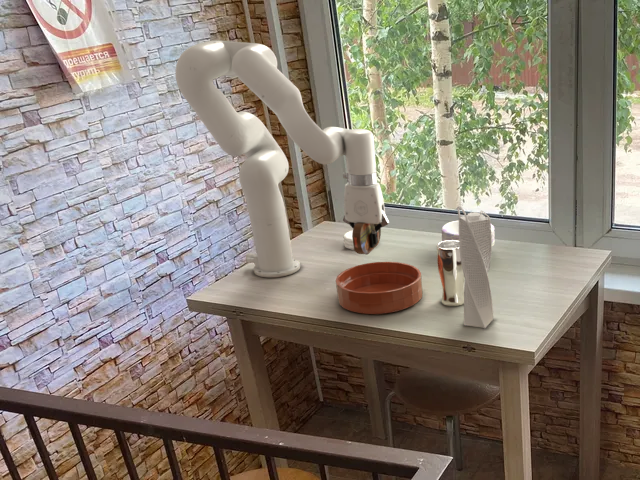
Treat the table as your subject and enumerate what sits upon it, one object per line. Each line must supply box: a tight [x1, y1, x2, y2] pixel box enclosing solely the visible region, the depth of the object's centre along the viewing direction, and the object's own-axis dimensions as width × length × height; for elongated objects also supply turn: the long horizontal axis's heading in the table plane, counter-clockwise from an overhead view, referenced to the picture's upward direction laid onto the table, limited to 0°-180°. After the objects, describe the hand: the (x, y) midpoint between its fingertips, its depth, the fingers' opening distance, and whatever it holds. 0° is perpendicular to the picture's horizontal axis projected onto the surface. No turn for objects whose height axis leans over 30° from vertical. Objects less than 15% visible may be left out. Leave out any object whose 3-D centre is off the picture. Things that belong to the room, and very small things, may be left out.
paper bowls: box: [440, 219, 496, 247], centre depth 228 cm, size 15×15×8 cm
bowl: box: [335, 261, 424, 315], centre depth 200 cm, size 21×21×6 cm
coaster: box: [343, 229, 355, 251], centre depth 237 cm, size 10×10×4 cm
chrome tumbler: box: [436, 240, 465, 307], centre depth 195 cm, size 7×7×15 cm
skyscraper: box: [456, 205, 495, 329], centre depth 181 cm, size 8×8×28 cm
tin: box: [352, 221, 382, 255], centre depth 214 cm, size 15×3×8 cm, turn 168°
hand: (368, 245), depth 216 cm, fingers closed on tin, 2 cm apart
